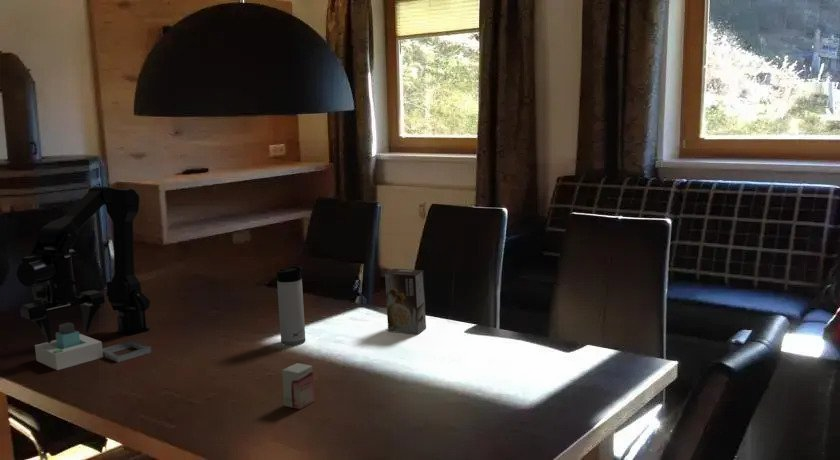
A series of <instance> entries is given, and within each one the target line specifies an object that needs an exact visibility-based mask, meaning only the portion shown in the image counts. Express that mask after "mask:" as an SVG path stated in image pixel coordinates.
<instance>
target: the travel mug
mask: <svg viewBox="0 0 840 460" xmlns="http://www.w3.org/2000/svg"><path fill="white" fill-rule="evenodd" d="M302 270H303V266H301V265H296V266H289V267H284V268H283V267H282V268H281V269H279V270H278V271H277V270H276V283H277V285H276V289H277V298H278V299H277V300H278V302H277V303H278V315H279V316H278V317H279V330H280V331H279V332H280V344H281V345H283V346H287V347H288V346H290V347H292V346H293V347H294V346H298V345H302V344H304V343H305V342H306V329H305V327H306V326H305V311H304V309H305V308H304V296H303V295H304V294H303V279H302Z"/></svg>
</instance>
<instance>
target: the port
mask: <svg viewBox="0 0 840 460" xmlns="http://www.w3.org/2000/svg"><path fill="white" fill-rule="evenodd" d="M79 337H80V345H76V346H73V347H69V348H65V349H59V348H57V341H56V339H55V340H51V343H48V342H47V341H46V342H42V343H39V344H35V345H34V349H35V358H36V359H35V360H36V361H37V362H38V363H41V364H43V365H45V366H47V367H49V368H51V369H54V370H55V371H59V370H63V369H66V368H67V369H68V368H70V367H74V366H77V365H80V364H84V363H88V362H92V361H95V360H99V359H102V358H104V357H103V342H102V341H101V340H98V339H95V338H92V337H90V336H87V335H84V334H83V333H79Z"/></svg>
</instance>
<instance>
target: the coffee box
mask: <svg viewBox="0 0 840 460" xmlns="http://www.w3.org/2000/svg"><path fill="white" fill-rule="evenodd" d="M424 271H425V270H423V269H421V270H420V269H419V270H418V269H406V268H405V269H403V268H401V269H399V268H393V269H391V270H389V271H387V272H386V273H385V274H384V275H385V276H384V277H385V279H384V281H385V298H386V314H387V315H386V317H387V332H388V333H389V332H390V333H401V334H413V335H419V334H421V333H422V332H424V330H426V329H427V320H426V315H427V314H426V297H425V295H426V293H425V276H424V275H425V272H424Z"/></svg>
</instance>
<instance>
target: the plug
mask: <svg viewBox="0 0 840 460" xmlns="http://www.w3.org/2000/svg"><path fill="white" fill-rule="evenodd" d="M58 330H59V331H57V332H55V340H56V341H57V348H59V349H65V348H69V347H73V346H76V345H80V337H79V334H80V331H78V330H76V329H75V324H74V323H72V322H65V323H61V324H58Z"/></svg>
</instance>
